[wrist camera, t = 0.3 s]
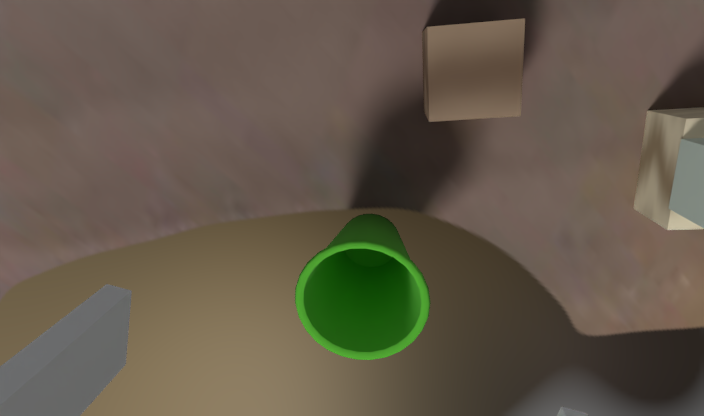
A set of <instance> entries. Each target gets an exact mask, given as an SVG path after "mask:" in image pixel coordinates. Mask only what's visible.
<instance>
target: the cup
mask: <svg viewBox="0 0 704 416" xmlns="http://www.w3.org/2000/svg"><path fill="white" fill-rule="evenodd" d="M295 292H296V294H295V303H296V307H297V311H298V315H299V318H300V320H301V321H302V323H303V325H304V327H305V329H306V330H307V332H308V333H309V334H310V335H311V336H312V337H313V339H314V340H316V342H318V343H319V344H320V345H322V346H323V347H325V348H326V349H327V350H329V351H331V352H334V353H336V354H338V355H340V356H344V357H348V358H353V359H359V360H363V359H364V360H372V359H378V358H384V357H388V356H390V355H392V354H395V353H397V352H399V351H401V350H403V349H404V348H405V347H407V346H408V345H409V344H411V343H412V342H413V341H414V340H415V338H416V337H417V336H418V335H419V333H420V332H421V331H422V330H423V328H424V326H425V323H426V321H427V319H428V316H429V309H430V296H429V289H428V286H427V284H426V281H425V279H424V277H423V275H422V273H421V272H420V270H419V269H418V268H417V267H416V265H415V264H414V263H413V262H412V261H411V260H410V258H409V255H408V253H407V251H406V249H405V246H404V244H403V242H402V240H401V238H400V235H399V233H398V231H397V229H396V227H395V226H394V225H393V224H392V222H390V221H389V220H388V219H386V218H385V217H382V216H380V215H375V214H363V215H359V216H357V217H355V218H353V219H352V220H351V221H349V223H347V224H346V226H345V227H344V228H343V229H342V230H341V231H340V233H339V234H338V235H337V236H336V237H335V238H334V240H333V241H332V242H331V243H330V244H329V245H328V247H327V248H326V249H324V250H322V251H320V252H319V253H317V254H316V255H315V256H314V257H313V258H312V259H311V260H310V261H309V262H308V263H307V264H306V266H305V267H304V269H303V270H302V272H301V274H300V276H299V279H298V282H297V285H296V291H295Z"/></svg>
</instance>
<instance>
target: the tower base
mask: <svg viewBox="0 0 704 416" xmlns="http://www.w3.org/2000/svg"><path fill="white" fill-rule="evenodd" d="M690 138H704V107H698V108H682V109H665V110H648V111H647V117H646V124H645V131H644V138H643V145H642V153H641V160H640V167H639V174H638V181H637V188H636V195H635V202H634V209H635V210H637V211H638V212H640V213H641V214H643V215H644V216H646V217H648V218H649V219H651V220H652V221H654V222H655V223H657V224H659V225H660V226H662V227H663V228H665V229H666V230H687V229H704V228H702V227H701V226H699V225H697V224H695V223H693V222H692V221H690V220H688V219H686V218H684V217H683V216H681V215H679V214H677V213H675V212H674V211H672V210H670V209H668V208H669V202H670V197H671V191H672V186H673V180H674V175H675V169H676V164H677V158H678V153H679V147H680V142H681V139H690Z"/></svg>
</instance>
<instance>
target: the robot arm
mask: <svg viewBox="0 0 704 416" xmlns="http://www.w3.org/2000/svg"><path fill="white" fill-rule="evenodd" d="M131 292H132V291H131V290H127V289H123V288H119V287H116V286H112V285H108V284H106V285H105V286H104V287H103V288H101V289H100V290H99V291H97V292H96V293H95V294H94V295H92V296H91V297H90V298H88V299H87V300H86V301H84V302H83V303H82V304H80V305H79V306H78V307H77V308H75V309H74V310H73V311H71V312H70V313H69V314H68V315H66V316H65V317H64V318H62V319H61V320H60V321H59V322H57V323H56V324H55V325H53V326H52V327H51V328H49V329H48V330H47V331H46V332H44V333H43V334H42V335H41V336H39V337H38V338H37V339H35V340H34V341H33V342H31V343H30V344H29V345H28V346H26V347H25V348H24V349H22V350H21V351H20V352H18V353H17V354H16V355H15V356H13V357H12V358H11V359H9V360H8V361H7V362H6V363H4V364H3V365H2V366H0V416H80V415H81V414H82V413H83V412H84V410H85V409H86V408H87V407H88V406H89V405H90V404H91V403H92V402H93V400H94V399H95V398H96V397H97V396H98V395H99V394H100V393H101V391H102V390H103V389H104V388H105V387H106V386H107V385H108V384H109V383H110V381H111V380H112V379H113V378H114V377H115V376H116V375H117V373H118V372H119V371H120V370H121V369H122V368H123V367H124V366H125V364H126V354H127V342H128V329H129V317H130V305H131ZM557 416H588V414H587V413H584V412H580V411H576V410H573V409H569V408H566V407H562V406H561V408H560V410H559V412H558V414H557Z"/></svg>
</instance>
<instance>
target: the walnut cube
mask: <svg viewBox="0 0 704 416" xmlns="http://www.w3.org/2000/svg"><path fill="white" fill-rule="evenodd" d="M524 34H525V18H523V19H512V20H500V21H489V22H477V23H466V24H454V25H443V26H431V27H427V28H426V29H425V30H424V31H423V32H422V49H423V93H424V113H425V115H426V117H427V119H428V121H429V122H435V121H451V120H467V119H483V118H499V117H515V116H521V98H522V77H523V55H524Z"/></svg>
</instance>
